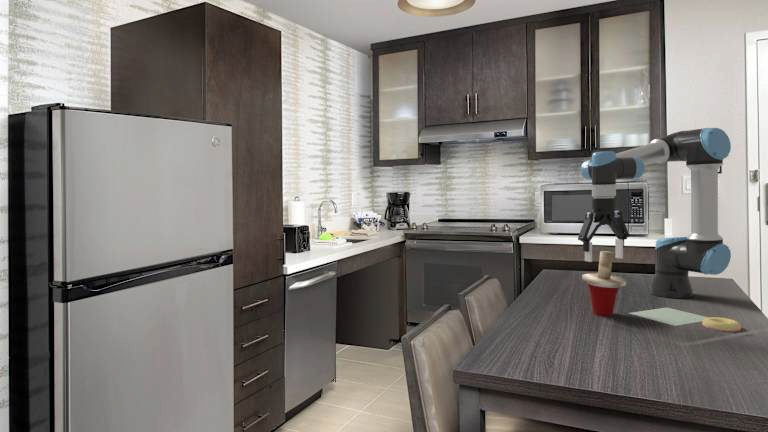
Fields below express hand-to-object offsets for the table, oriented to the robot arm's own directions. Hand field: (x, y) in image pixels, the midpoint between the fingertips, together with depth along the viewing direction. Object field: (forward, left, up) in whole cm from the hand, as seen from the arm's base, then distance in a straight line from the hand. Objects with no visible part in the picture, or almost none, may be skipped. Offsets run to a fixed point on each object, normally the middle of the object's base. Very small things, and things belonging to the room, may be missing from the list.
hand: (604, 259), depth 177 cm
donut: (-19, +28, -20) cm, 39 cm away
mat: (-17, +12, -19) cm, 28 cm away
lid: (0, 0, -8) cm, 8 cm away
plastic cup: (0, 0, -20) cm, 20 cm away
